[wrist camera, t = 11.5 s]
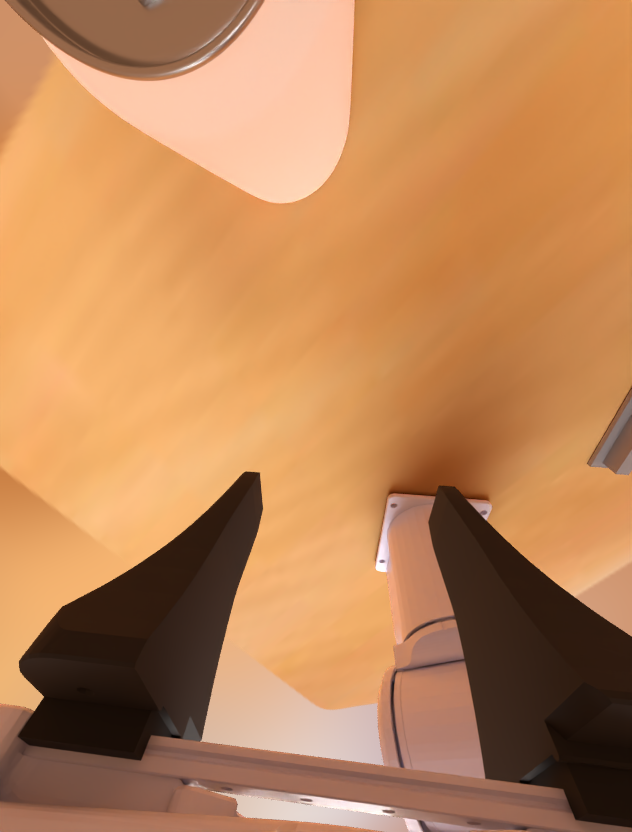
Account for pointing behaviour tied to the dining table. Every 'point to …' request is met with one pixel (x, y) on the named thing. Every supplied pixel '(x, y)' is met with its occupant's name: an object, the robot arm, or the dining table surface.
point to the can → (218, 79)
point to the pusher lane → (616, 442)
